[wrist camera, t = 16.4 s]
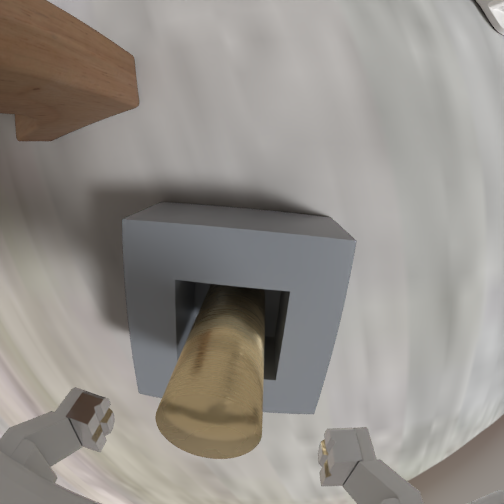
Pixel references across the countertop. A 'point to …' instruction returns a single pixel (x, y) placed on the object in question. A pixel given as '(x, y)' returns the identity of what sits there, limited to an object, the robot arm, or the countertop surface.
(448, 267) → the countertop surface
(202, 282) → the hole holder
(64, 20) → the wooden block
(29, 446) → the robot arm
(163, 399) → the brass pin
